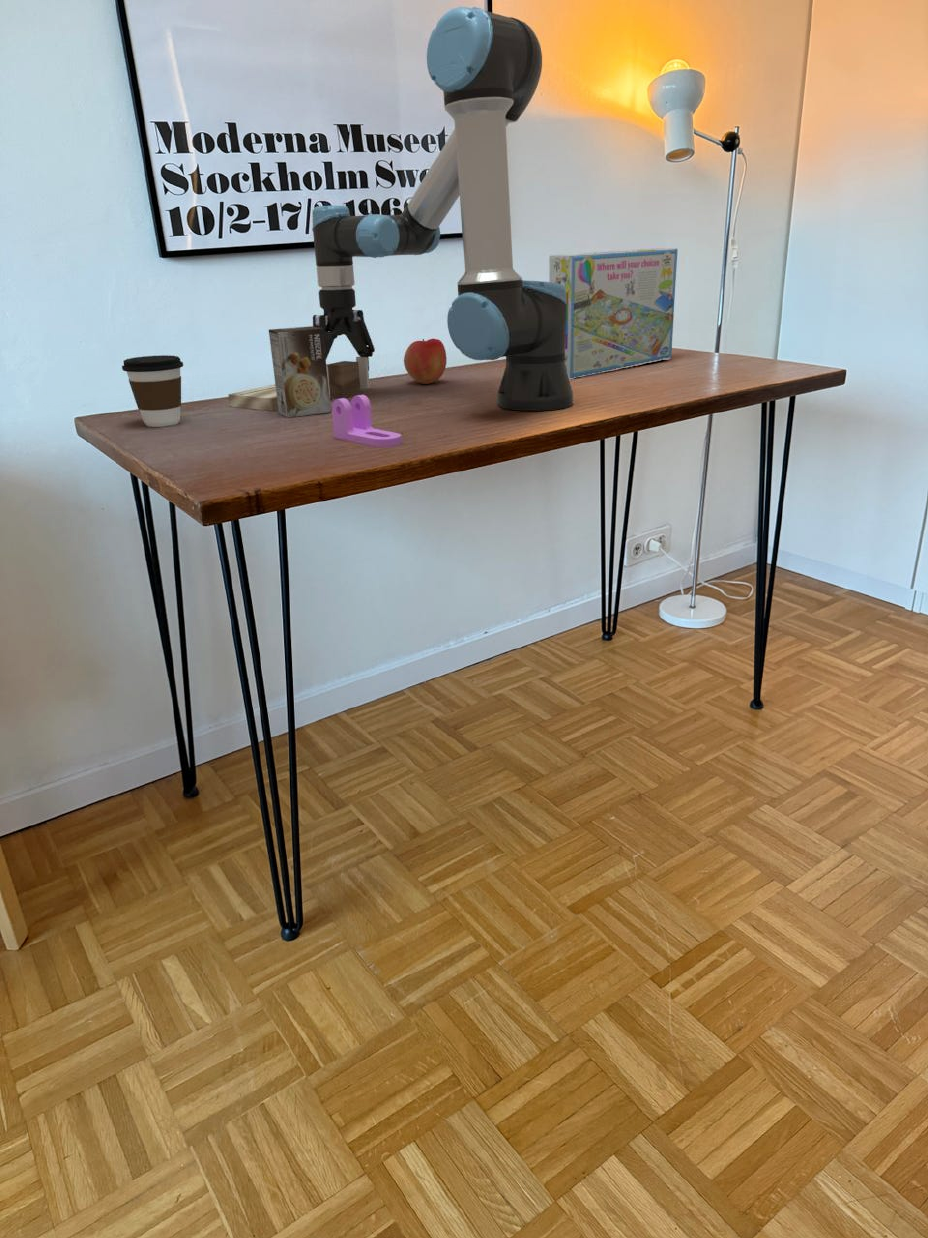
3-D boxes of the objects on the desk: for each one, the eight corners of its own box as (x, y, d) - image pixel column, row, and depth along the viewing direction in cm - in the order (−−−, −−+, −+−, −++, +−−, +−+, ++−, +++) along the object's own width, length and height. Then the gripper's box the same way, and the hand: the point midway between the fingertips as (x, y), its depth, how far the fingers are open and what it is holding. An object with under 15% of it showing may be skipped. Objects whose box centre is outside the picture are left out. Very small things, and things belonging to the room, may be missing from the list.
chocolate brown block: (360, 394, 190) (358, 361, 187) (343, 399, 185) (340, 365, 182) (311, 390, 197) (308, 358, 194) (294, 394, 192) (290, 362, 189)
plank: (353, 390, 194) (352, 379, 193) (272, 411, 174) (270, 397, 173) (312, 387, 200) (311, 376, 199) (230, 406, 180) (228, 393, 179)
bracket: (334, 438, 150) (330, 398, 147) (359, 433, 154) (356, 393, 151) (383, 449, 142) (380, 406, 139) (408, 443, 145) (406, 401, 142)
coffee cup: (158, 431, 158) (147, 364, 153) (120, 426, 164) (107, 361, 159) (204, 420, 167) (194, 356, 162) (165, 416, 172) (155, 353, 167)
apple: (440, 379, 207) (438, 335, 203) (452, 384, 199) (450, 339, 195) (401, 381, 204) (398, 337, 200) (411, 387, 196) (409, 342, 192)
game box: (650, 358, 230) (656, 247, 219) (671, 361, 226) (679, 247, 215) (547, 377, 206) (548, 253, 195) (569, 380, 201) (572, 253, 190)
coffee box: (321, 408, 176) (313, 325, 170) (331, 413, 171) (324, 327, 164) (277, 413, 172) (267, 328, 166) (286, 418, 167) (277, 331, 161)
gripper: (359, 283, 191) (366, 382, 200) (281, 291, 172) (292, 400, 180) (386, 284, 187) (392, 384, 196) (310, 292, 168) (320, 402, 177)
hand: (344, 392), depth 188 cm, fingers open, 13 cm apart
